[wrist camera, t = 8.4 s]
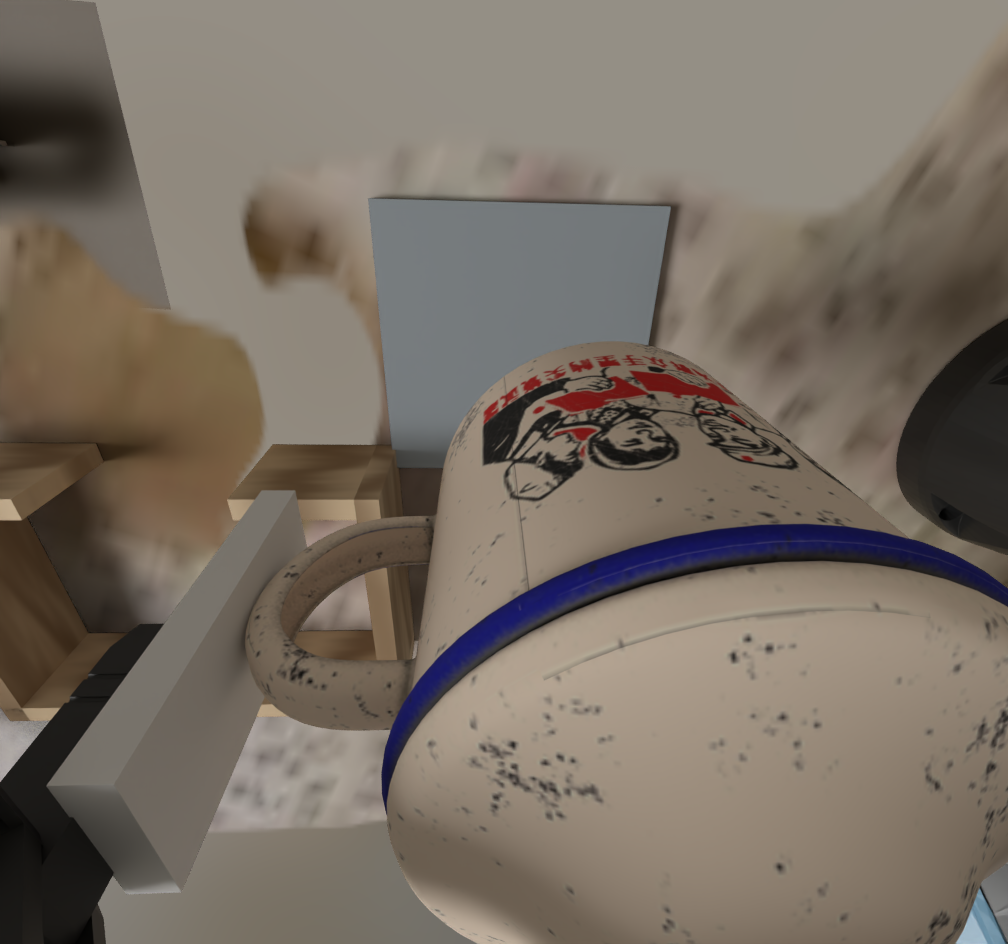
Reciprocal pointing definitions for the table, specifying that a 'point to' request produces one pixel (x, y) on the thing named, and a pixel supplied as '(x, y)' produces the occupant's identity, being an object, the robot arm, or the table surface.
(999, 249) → the table surface
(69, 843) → the robot arm
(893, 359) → the table surface
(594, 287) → the mat
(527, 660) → the teacup with lid
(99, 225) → the platform
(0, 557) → the open enclosure
